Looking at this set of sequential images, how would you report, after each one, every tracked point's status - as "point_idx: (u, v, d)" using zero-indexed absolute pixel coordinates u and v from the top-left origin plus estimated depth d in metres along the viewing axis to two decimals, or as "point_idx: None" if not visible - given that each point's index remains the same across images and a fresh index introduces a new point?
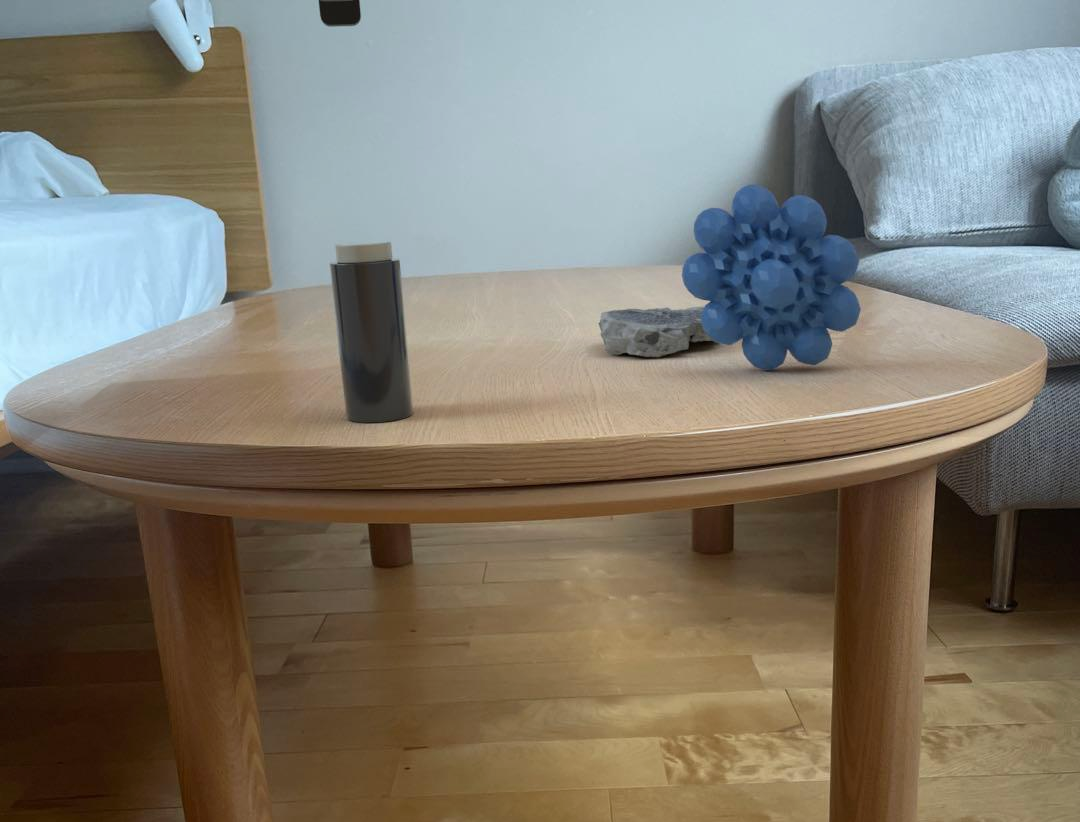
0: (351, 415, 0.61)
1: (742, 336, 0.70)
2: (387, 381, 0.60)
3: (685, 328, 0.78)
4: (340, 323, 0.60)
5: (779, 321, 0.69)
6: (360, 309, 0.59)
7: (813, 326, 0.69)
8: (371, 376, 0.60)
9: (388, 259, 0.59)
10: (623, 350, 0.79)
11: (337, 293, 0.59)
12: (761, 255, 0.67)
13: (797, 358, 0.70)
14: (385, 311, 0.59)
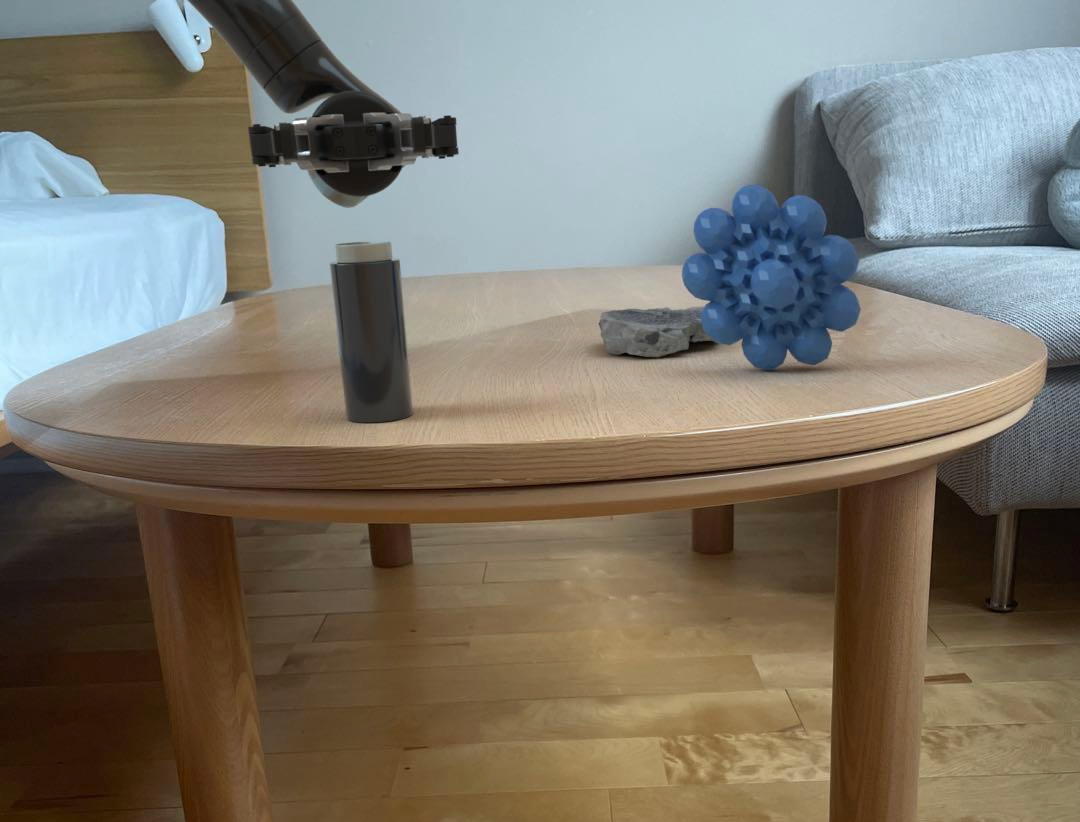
0: (351, 415, 0.61)
1: (742, 336, 0.70)
2: (387, 381, 0.60)
3: (685, 328, 0.78)
4: (340, 323, 0.60)
5: (779, 321, 0.69)
6: (360, 309, 0.59)
7: (813, 326, 0.69)
8: (371, 376, 0.60)
9: (388, 259, 0.59)
10: (623, 350, 0.79)
11: (337, 293, 0.59)
12: (761, 255, 0.67)
13: (797, 358, 0.70)
14: (385, 311, 0.59)
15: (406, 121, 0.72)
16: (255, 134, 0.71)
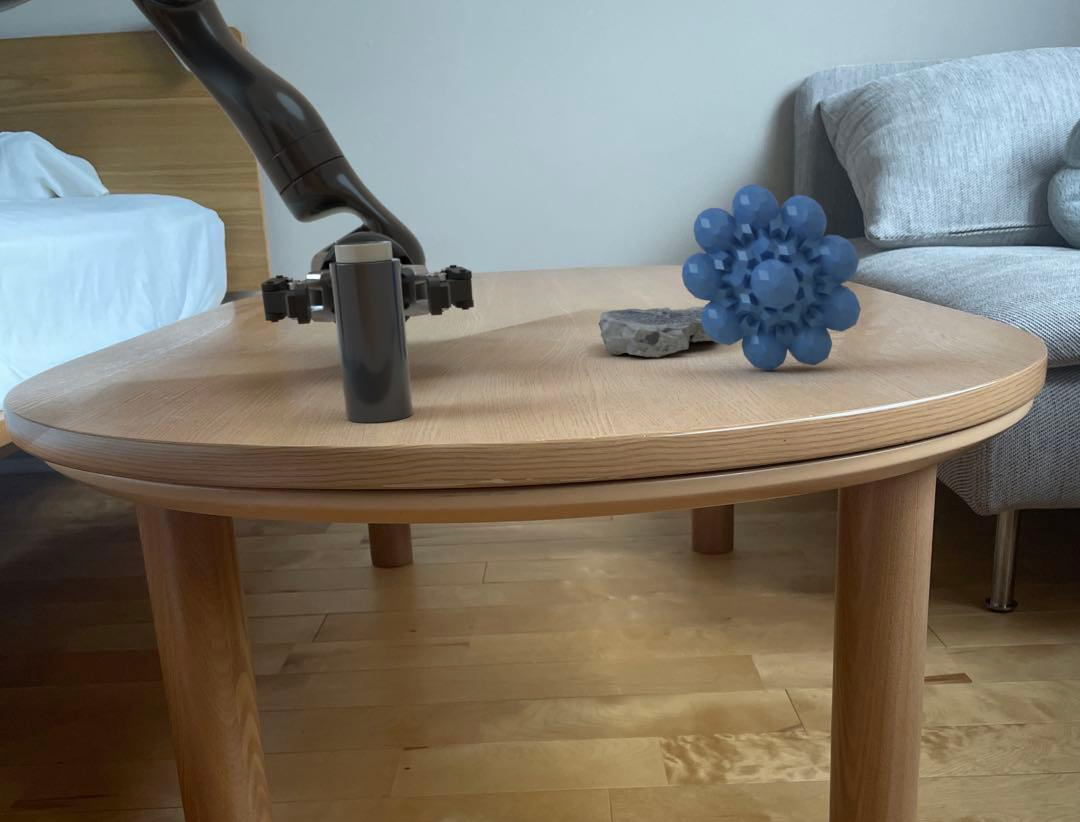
0: (351, 415, 0.61)
1: (742, 336, 0.70)
2: (387, 381, 0.60)
3: (685, 328, 0.78)
4: (340, 323, 0.60)
5: (779, 321, 0.69)
6: (360, 309, 0.59)
7: (813, 326, 0.69)
8: (371, 376, 0.60)
9: (388, 259, 0.59)
10: (623, 350, 0.79)
11: (337, 293, 0.59)
12: (761, 255, 0.67)
13: (797, 358, 0.70)
14: (385, 311, 0.59)
15: (421, 276, 0.72)
16: (268, 292, 0.70)
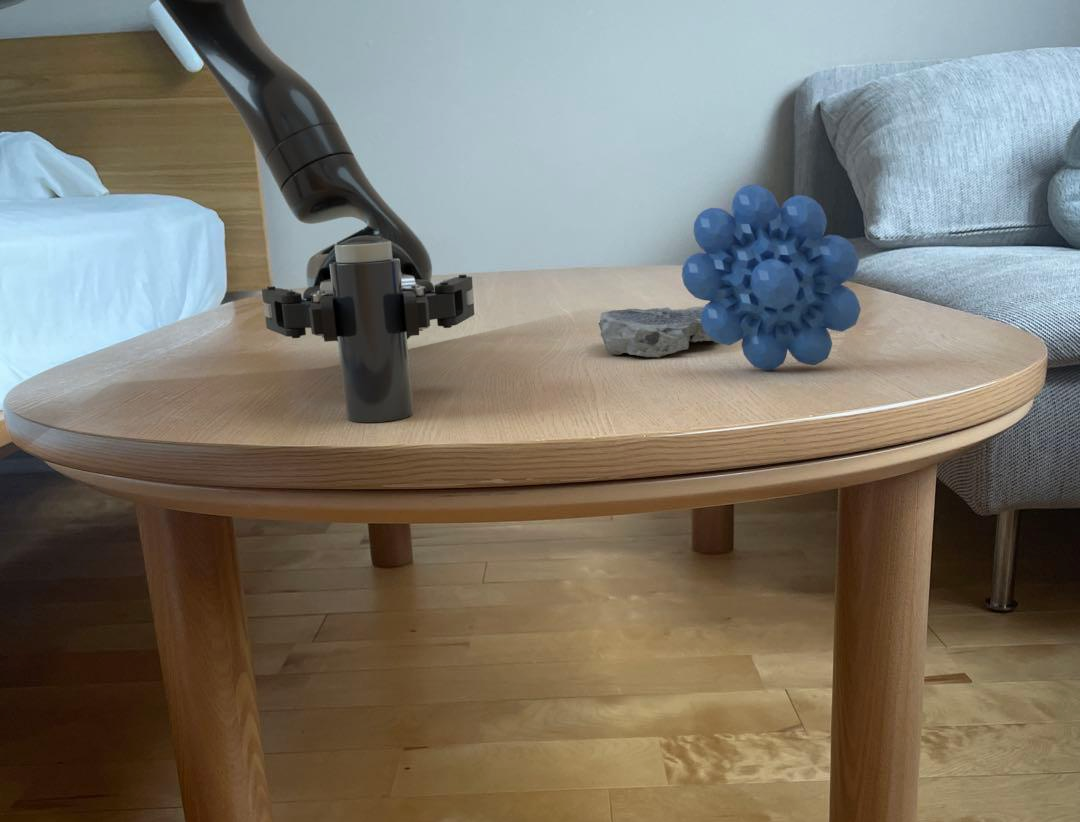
0: (352, 415, 0.61)
1: (742, 336, 0.70)
2: (387, 381, 0.60)
3: (685, 328, 0.78)
4: (340, 323, 0.60)
5: (779, 321, 0.69)
6: (360, 309, 0.59)
7: (813, 326, 0.69)
8: (371, 376, 0.60)
9: (388, 259, 0.59)
10: (623, 350, 0.79)
11: (337, 293, 0.59)
12: (761, 255, 0.67)
13: (797, 358, 0.70)
14: (385, 311, 0.59)
15: None
16: (293, 304, 0.62)
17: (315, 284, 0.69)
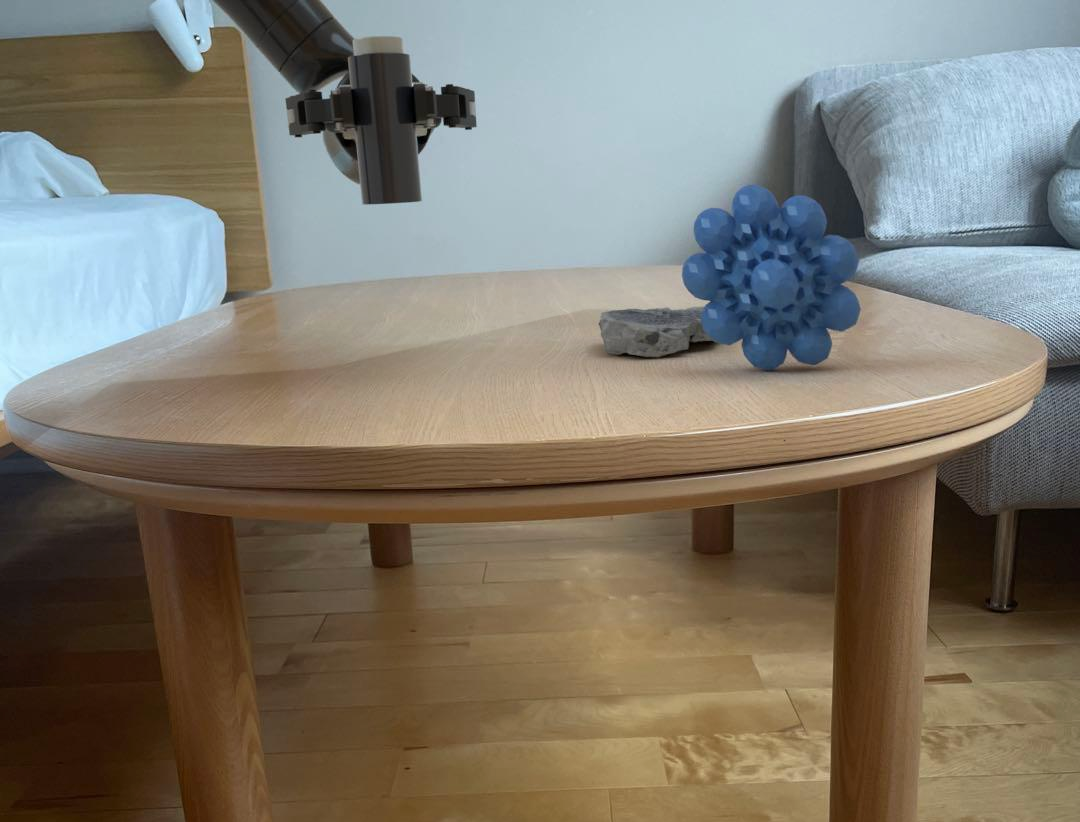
0: (367, 198, 0.69)
1: (742, 336, 0.70)
2: (399, 165, 0.68)
3: (685, 328, 0.78)
4: (357, 111, 0.67)
5: (779, 321, 0.69)
6: (375, 96, 0.66)
7: (813, 326, 0.69)
8: (385, 160, 0.67)
9: (400, 53, 0.67)
10: (623, 350, 0.79)
11: (355, 83, 0.67)
12: (761, 255, 0.67)
13: (797, 358, 0.70)
14: (397, 99, 0.67)
15: None
16: (314, 100, 0.69)
17: None
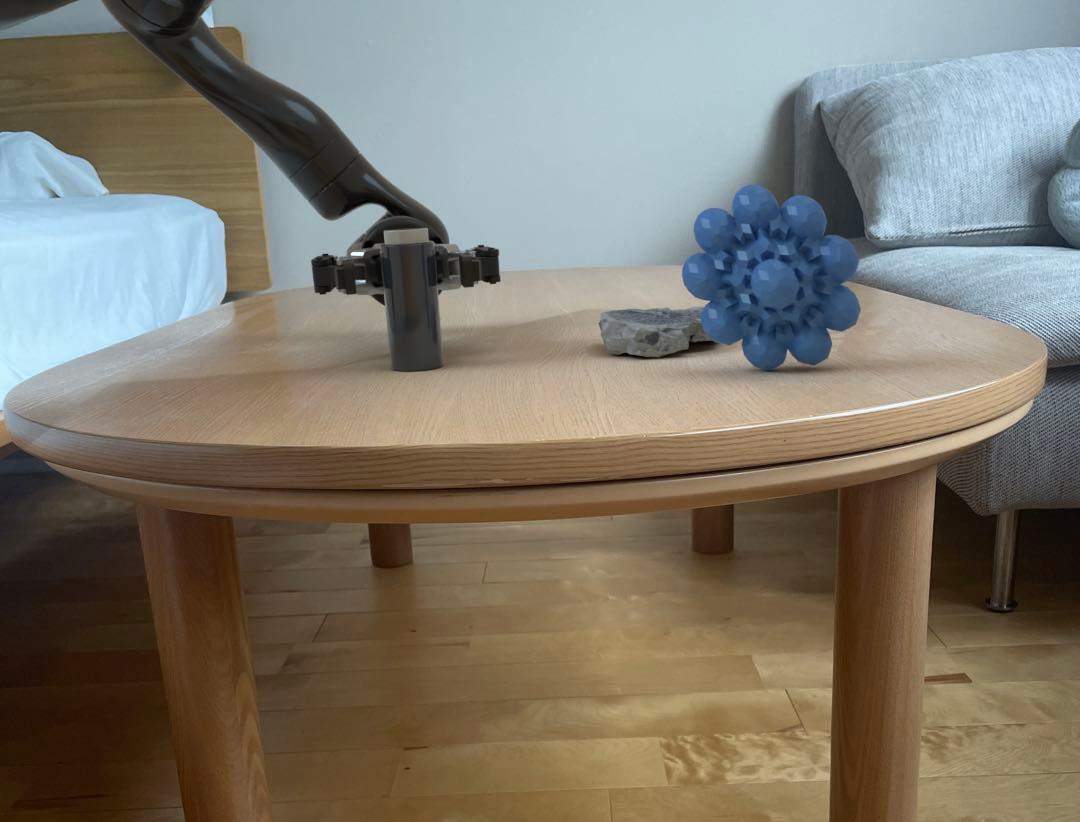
0: (396, 365, 0.78)
1: (742, 336, 0.70)
2: (424, 338, 0.77)
3: (685, 328, 0.78)
4: (388, 292, 0.76)
5: (779, 321, 0.69)
6: (404, 281, 0.75)
7: (813, 326, 0.69)
8: (412, 334, 0.76)
9: (425, 242, 0.76)
10: (623, 350, 0.79)
11: (386, 268, 0.76)
12: (761, 255, 0.67)
13: (797, 358, 0.70)
14: (423, 282, 0.76)
15: (454, 253, 0.80)
16: (318, 267, 0.78)
17: None
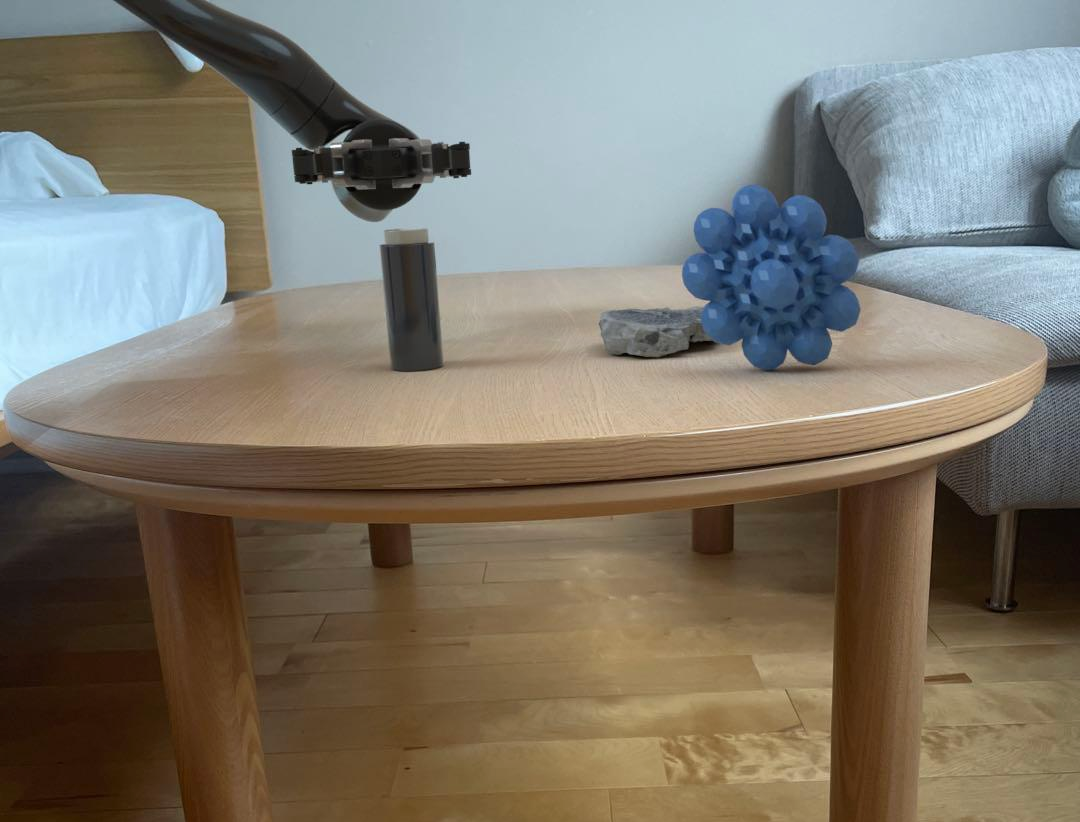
0: (396, 365, 0.78)
1: (742, 336, 0.70)
2: (424, 338, 0.77)
3: (685, 328, 0.78)
4: (388, 292, 0.76)
5: (779, 321, 0.69)
6: (404, 281, 0.75)
7: (813, 326, 0.69)
8: (412, 334, 0.76)
9: (425, 242, 0.76)
10: (623, 350, 0.79)
11: (386, 268, 0.76)
12: (761, 255, 0.67)
13: (797, 358, 0.70)
14: (423, 282, 0.76)
15: (427, 146, 0.84)
16: (298, 156, 0.83)
17: None
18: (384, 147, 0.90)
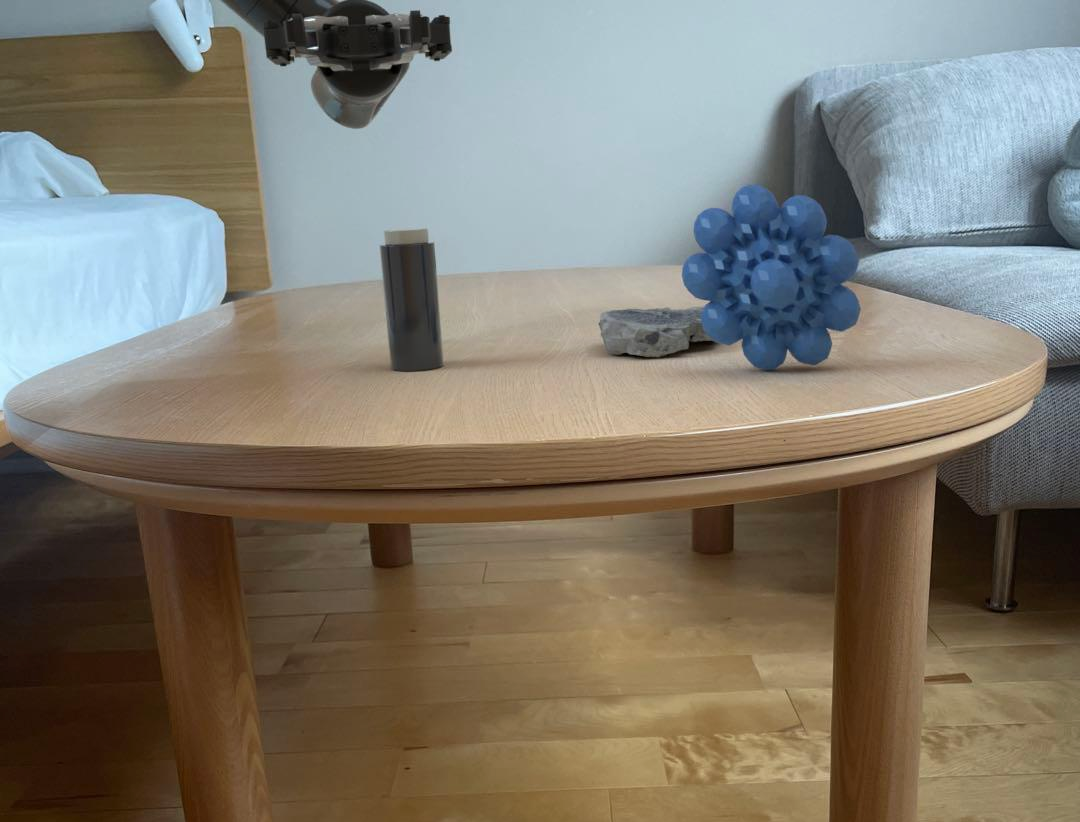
0: (396, 365, 0.78)
1: (742, 336, 0.70)
2: (424, 338, 0.77)
3: (685, 328, 0.78)
4: (388, 292, 0.76)
5: (779, 321, 0.69)
6: (404, 281, 0.75)
7: (813, 326, 0.69)
8: (412, 334, 0.76)
9: (425, 242, 0.76)
10: (623, 350, 0.79)
11: (386, 268, 0.76)
12: (761, 255, 0.67)
13: (797, 358, 0.70)
14: (423, 282, 0.76)
15: (405, 20, 0.81)
16: (269, 29, 0.79)
17: None
18: None
